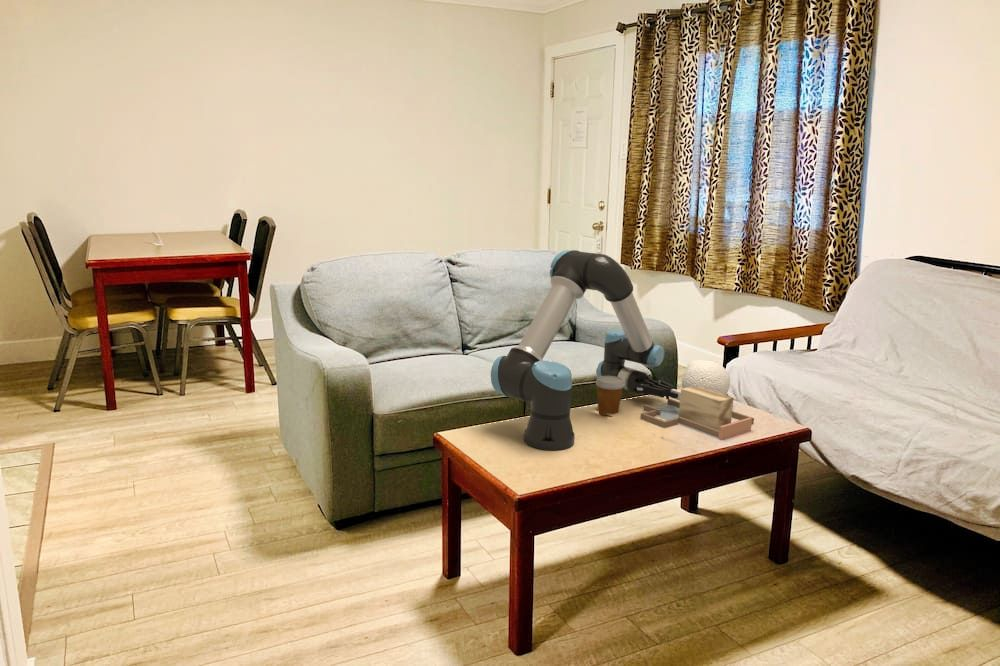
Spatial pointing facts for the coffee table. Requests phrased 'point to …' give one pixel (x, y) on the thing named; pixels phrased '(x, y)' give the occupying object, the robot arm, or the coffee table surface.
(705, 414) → the maple block
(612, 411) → the disposable coffee cup
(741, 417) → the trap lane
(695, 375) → the decorative orb
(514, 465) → the coffee table surface
